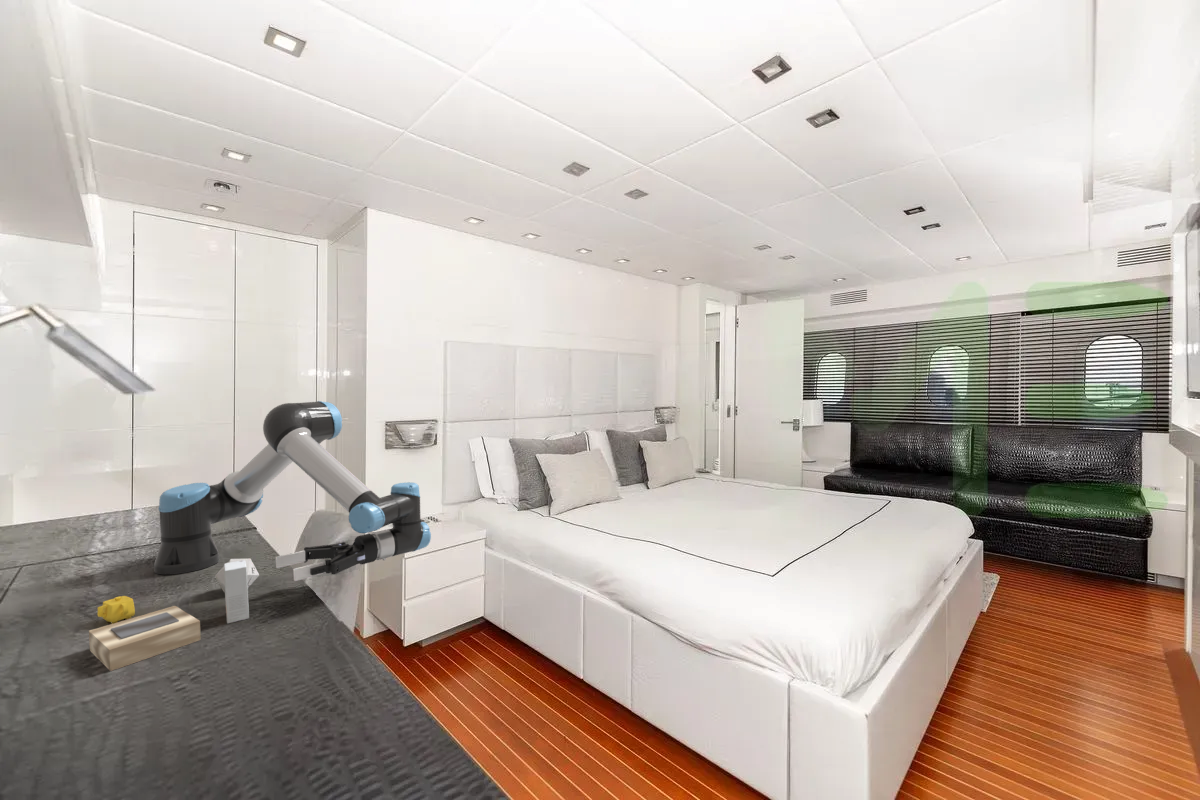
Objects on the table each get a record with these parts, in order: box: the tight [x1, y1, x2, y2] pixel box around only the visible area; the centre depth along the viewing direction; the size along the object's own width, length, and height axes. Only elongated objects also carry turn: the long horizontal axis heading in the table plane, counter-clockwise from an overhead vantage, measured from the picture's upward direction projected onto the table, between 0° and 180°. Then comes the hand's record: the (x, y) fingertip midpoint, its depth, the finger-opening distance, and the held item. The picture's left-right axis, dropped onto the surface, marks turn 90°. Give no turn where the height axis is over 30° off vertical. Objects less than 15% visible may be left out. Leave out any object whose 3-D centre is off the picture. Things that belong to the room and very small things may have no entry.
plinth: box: [88, 605, 202, 672], centre depth 107 cm, size 14×14×4 cm
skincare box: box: [223, 560, 250, 624], centre depth 119 cm, size 6×4×12 cm
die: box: [214, 558, 260, 594], centre depth 135 cm, size 8×9×10 cm
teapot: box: [96, 595, 136, 624], centre depth 119 cm, size 8×6×5 cm
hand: (284, 568), depth 126 cm, fingers open, 13 cm apart
